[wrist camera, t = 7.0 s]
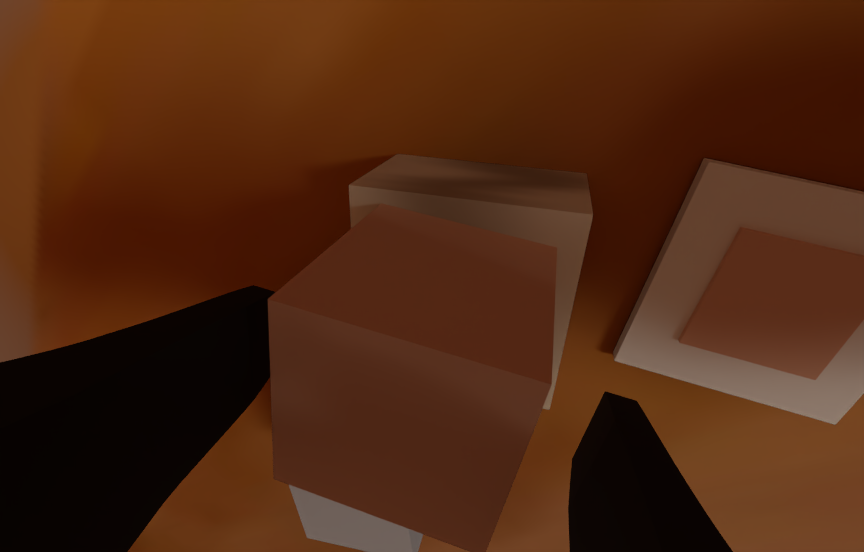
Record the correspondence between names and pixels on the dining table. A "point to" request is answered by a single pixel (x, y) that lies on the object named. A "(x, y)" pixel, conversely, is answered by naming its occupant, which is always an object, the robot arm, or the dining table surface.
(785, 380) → the tile
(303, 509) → the grey painted block
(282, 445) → the terracotta block
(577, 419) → the dining table surface
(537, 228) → the birch base block
